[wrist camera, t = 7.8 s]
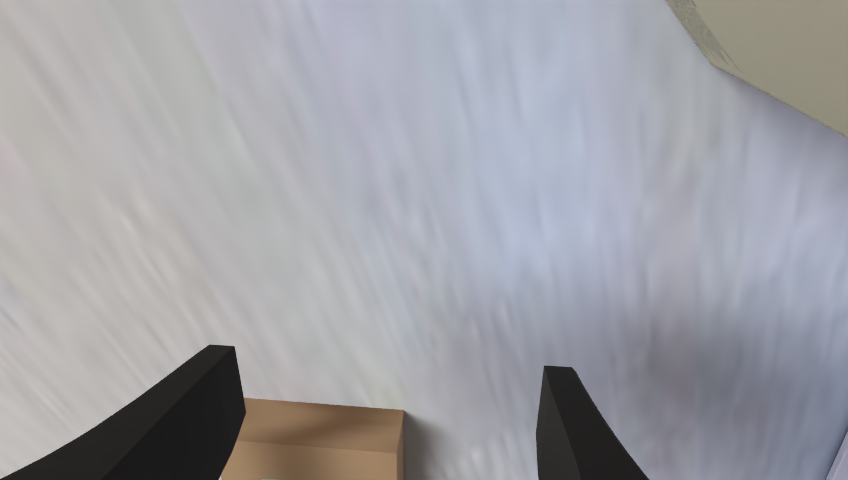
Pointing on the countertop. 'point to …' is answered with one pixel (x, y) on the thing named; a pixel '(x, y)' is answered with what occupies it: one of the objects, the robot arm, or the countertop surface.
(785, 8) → the box
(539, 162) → the countertop surface
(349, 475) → the tan wooden block
